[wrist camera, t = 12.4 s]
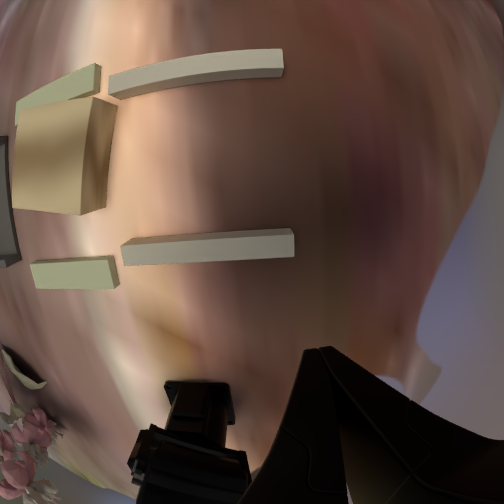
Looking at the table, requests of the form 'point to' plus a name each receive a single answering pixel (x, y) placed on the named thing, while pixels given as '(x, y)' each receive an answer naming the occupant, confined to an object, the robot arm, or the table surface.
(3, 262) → the tray
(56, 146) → the maple block
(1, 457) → the flower
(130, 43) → the table surface
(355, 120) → the table surface
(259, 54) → the twin beige slats
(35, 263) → the bars
